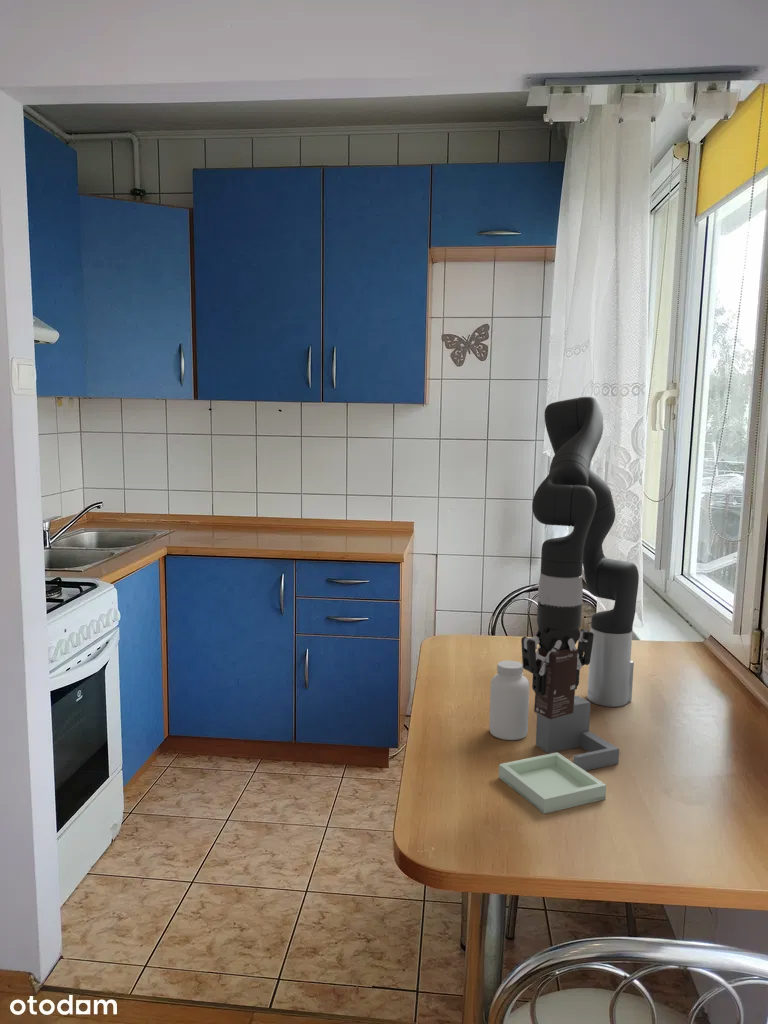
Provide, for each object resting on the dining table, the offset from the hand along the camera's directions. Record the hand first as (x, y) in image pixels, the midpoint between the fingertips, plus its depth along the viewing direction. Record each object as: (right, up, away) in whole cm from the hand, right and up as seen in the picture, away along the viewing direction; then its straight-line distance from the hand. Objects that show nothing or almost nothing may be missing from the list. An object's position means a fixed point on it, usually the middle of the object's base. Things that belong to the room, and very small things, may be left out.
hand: (555, 690), depth 139 cm
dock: (+8, -16, +16) cm, 24 cm away
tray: (0, -18, +2) cm, 18 cm away
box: (0, -4, +1) cm, 4 cm away
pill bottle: (-4, -15, +26) cm, 30 cm away
